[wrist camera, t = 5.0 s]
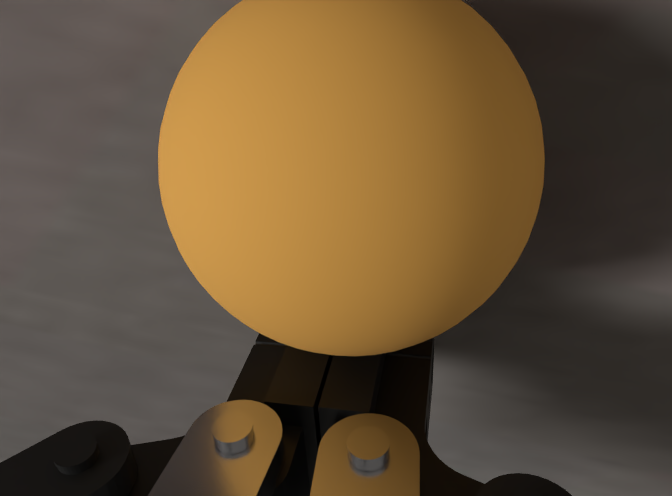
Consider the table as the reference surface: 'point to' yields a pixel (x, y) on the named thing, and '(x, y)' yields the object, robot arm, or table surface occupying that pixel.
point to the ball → (351, 168)
